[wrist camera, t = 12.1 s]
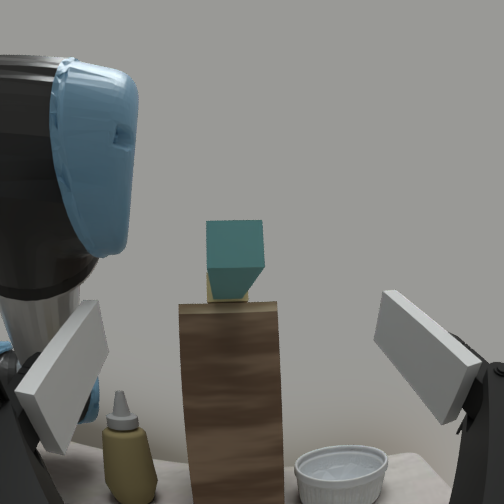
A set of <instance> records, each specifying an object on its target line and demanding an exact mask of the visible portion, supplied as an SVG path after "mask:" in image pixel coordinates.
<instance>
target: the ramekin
mask: <svg viewBox="0 0 504 504" xmlns="http://www.w3.org/2000/svg"><path fill="white" fill-rule="evenodd" d="M387 467H388V456H387V455H386V454H385V452H383V451H381V450H379V449H377V448H373V447H369V446H361V445H341V446H331V447H325V448H321V449H317V450H314V451H311V452H308V453H306V454H304V455H302V456H301V457H299V458H298V459H297V461H296V462H295V467H294V473H295V476H296V477H297V484H298V490H299V495H300V499H301V501H302V503H303V504H372V503H373V502H374V501H375V500H376V499H377V498H378V496H379V494H380V492H381V488H382V484H383V480H384V475H385V471H386V470H387Z"/></svg>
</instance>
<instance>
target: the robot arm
mask: <svg viewBox="0 0 504 504" xmlns="http://www.w3.org/2000/svg"><path fill="white" fill-rule="evenodd" d="M137 117H138V91H137V87H136V85H135V83H134V81H133V80H132V78H131V77H130V76H129V75H127V74H126V73H124V72H122V71H120V70H116V69H112V68H108V67H102V66H98V65H93V64H89V63H84V62H80V61H79V60H78V59H75V58H73V57H69V58H60V57H48V56H30V55H0V313H1V316H2V319H3V321H4V324H5V327H6V330H7V332H8V335H9V338H10V340H11V343H12V345H13V347H12V345H11V343H10V342H8V341H6V342H5V341H0V504H64V502H63V501H62V499H61V497H60V495H59V493H58V491H57V489H56V487H55V485H54V483H53V481H52V479H51V477H50V475H49V473H48V471H47V469H46V467H45V465H44V462H43V460H42V458H41V456H40V453H39V452H38V450H37V449H36V447H37V445H38V443H39V441H41V443H42V445H43V446H44V448H45V450H46V451H48V452H52V453H57V454H61V455H65V453H66V451H67V448H68V446H69V443H70V441H71V438H72V435H73V433H74V430H75V428H76V426H77V424H82V423H90V422H93V421H95V420H96V418H97V416H98V412H99V380H98V375H99V373H100V371H101V368H102V366H103V364H104V362H105V360H106V358H107V356H108V353H109V349H108V346H107V341H106V336H105V332H104V327H103V322H102V317H101V312H100V307H99V301H98V300H83V301H82V302H81V304H80V305H79V294H80V285H81V284H82V283H83V282H84V281H85V280H86V279H87V278H88V277H89V276H90V274H91V273H92V271H93V270H94V268H95V266H96V265H97V263H98V259H99V258H105V257H107V256H108V255H115V254H119V253H121V252H122V251H123V250H124V249H125V247H126V243H127V237H128V228H129V215H130V204H131V190H132V177H133V166H134V153H135V142H136V129H137ZM374 341H375V343H376V344H377V345H378V346H379V347H380V349H381V350H382V351H383V352H384V354H385V355H386V356H387V357H388V358H389V360H390V361H391V362H392V363H393V364H394V366H395V367H396V368H397V369H398V371H399V372H400V373H401V374H402V376H403V377H404V378H405V379H406V381H407V382H408V383H409V384H410V386H411V387H412V388H413V390H414V391H415V392H416V393H417V395H418V396H419V397H420V398H421V400H422V401H423V402H424V403H425V405H426V406H427V407H428V409H429V410H430V411H431V412H432V414H433V415H434V416H435V417H436V419H437V420H438V421H439V423H440V424H441V425H444V424H447V423H449V422H452V421H454V420H456V419H457V417H458V415H459V413H460V411H461V409H462V408H463V409H464V411H465V412H466V415H465V417H464V419H463V421H462V423H461V425H460V427H459V428H458V431H457V433H456V434H459V432H460V431H461V430H462V436H461V443H460V450H459V457H458V463H457V469H456V474H455V479H454V484H453V489H452V493H451V498H450V502H449V504H504V363H501V362H493V363H490V364H489V363H488V362H487V361H486V360H484V358H482V357H481V356H480V355H479V354H478V353H477V352H475V351H474V350H473V349H471V348H470V347H469V346H468V345H467V344H465V342H464V341H462V340H461V339H460V338H459V337H458V336H456V335H454V334H451V333H449V332H447V331H446V330H445V329H443V328H442V327H441V326H439V324H437V323H436V322H435V321H434V320H433V319H431V318H430V317H429V316H428V315H426V314H425V313H424V312H423V311H422V310H420V309H419V308H418V307H417V306H415V305H414V304H413V303H412V302H410V301H409V300H408V299H407V298H405V297H404V296H403V295H402V294H400V293H399V292H398V291H396V290H388V291H383V292H382V298H381V304H380V310H379V315H378V321H377V326H376V331H375V335H374ZM13 348H14V351H12V349H13Z"/></svg>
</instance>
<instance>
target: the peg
mask: <svg viewBox="0 0 504 504" xmlns="http://www.w3.org/2000/svg"><path fill="white" fill-rule="evenodd" d="M206 224H207V225H206V229H207V230H206V237H207V239H206V240H207V241H206V242H207V271H208V273H207V303H208V304H214V303H247V302H248V290H249V288H250V287H251V286H252V284H253V283H254V281H255V280H256V278H257V277H258V276H259V274H260V273H261V272H262V270H263V268H264V267H265V261H264V244H263V226H262V220H232V221H230V220H229V221H206Z"/></svg>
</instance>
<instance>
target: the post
mask: <svg viewBox="0 0 504 504" xmlns="http://www.w3.org/2000/svg"><path fill="white" fill-rule="evenodd" d="M278 332H279V331H278V313H277V301H273V302H251V303H250V302H248V303H214V304H179V338H180V360H181V380H182V394H183V409H184V420H185V432H186V442H187V452H188V462H189V471H190V479H191V487H192V495H193V502H194V504H284V461H283V429H282V400H281V375H280V354H279V333H278Z"/></svg>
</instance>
